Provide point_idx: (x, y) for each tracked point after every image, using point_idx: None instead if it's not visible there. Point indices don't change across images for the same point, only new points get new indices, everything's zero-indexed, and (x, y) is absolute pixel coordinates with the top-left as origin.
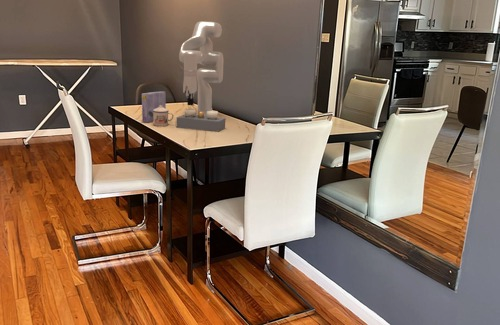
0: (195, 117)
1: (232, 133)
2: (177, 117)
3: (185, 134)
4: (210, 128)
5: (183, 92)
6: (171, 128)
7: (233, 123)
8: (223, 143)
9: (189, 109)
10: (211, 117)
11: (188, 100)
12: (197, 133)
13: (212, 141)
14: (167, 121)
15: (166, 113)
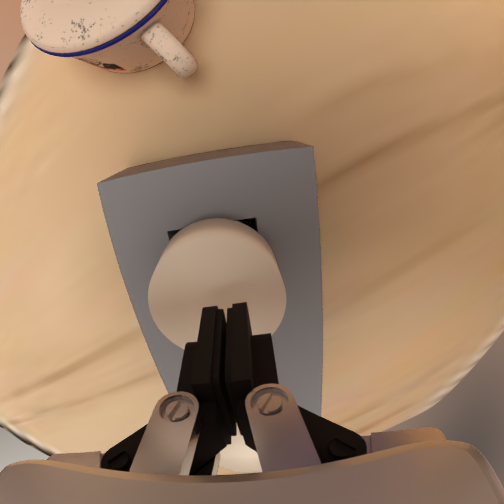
0: None
1: None
2: (99, 194)
3: (37, 322)
4: None
5: (4, 474)
6: (81, 162)
7: (433, 359)
8: (73, 452)
9: (209, 299)
10: None
11: (181, 380)
12: (95, 357)
13: (59, 429)
14: (132, 65)
15: (87, 54)
